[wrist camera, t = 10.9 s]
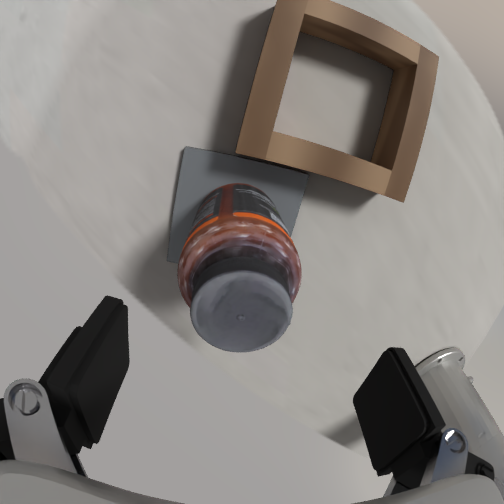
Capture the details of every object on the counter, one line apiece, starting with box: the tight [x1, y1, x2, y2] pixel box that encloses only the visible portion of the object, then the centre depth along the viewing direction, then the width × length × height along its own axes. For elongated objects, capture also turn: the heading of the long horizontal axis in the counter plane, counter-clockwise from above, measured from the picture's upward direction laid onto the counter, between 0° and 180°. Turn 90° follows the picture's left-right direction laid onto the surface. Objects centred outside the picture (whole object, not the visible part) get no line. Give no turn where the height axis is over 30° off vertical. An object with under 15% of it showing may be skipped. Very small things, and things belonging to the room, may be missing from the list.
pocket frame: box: [236, 0, 439, 203], centre depth 16 cm, size 12×12×4 cm
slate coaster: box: [167, 146, 309, 263], centre depth 21 cm, size 9×9×1 cm
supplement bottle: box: [177, 183, 301, 352], centre depth 16 cm, size 6×6×11 cm
